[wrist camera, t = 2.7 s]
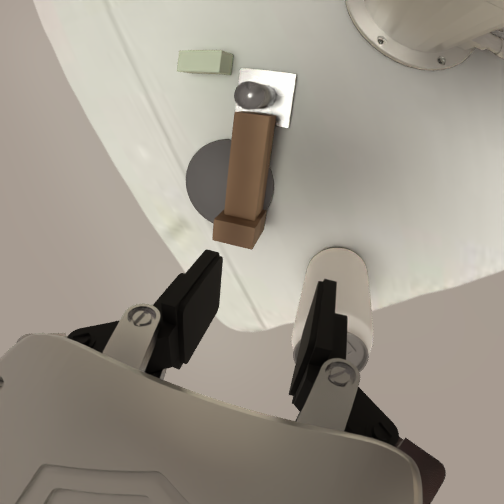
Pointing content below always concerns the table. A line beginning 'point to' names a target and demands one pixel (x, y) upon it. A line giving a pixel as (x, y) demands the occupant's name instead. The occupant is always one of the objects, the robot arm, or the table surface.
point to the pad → (214, 179)
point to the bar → (246, 180)
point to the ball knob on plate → (266, 93)
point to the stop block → (205, 62)
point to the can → (340, 300)
